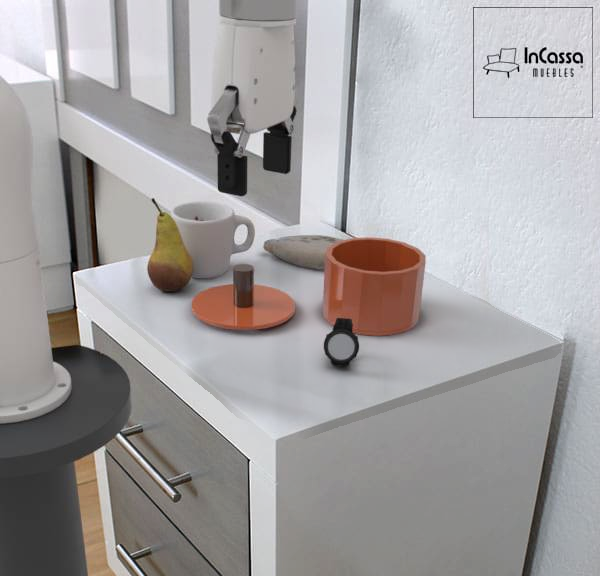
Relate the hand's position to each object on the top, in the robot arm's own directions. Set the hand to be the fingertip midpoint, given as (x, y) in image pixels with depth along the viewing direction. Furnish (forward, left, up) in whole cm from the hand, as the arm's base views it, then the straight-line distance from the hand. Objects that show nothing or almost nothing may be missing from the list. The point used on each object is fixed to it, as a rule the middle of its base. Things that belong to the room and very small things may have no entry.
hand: (255, 182), depth 96 cm
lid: (+1, +2, -15) cm, 16 cm away
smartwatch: (-4, -14, -16) cm, 22 cm away
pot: (+9, -11, -16) cm, 21 cm away
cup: (+10, +12, -16) cm, 22 cm away
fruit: (+2, +13, -16) cm, 21 cm away
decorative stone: (+20, +2, -16) cm, 26 cm away
